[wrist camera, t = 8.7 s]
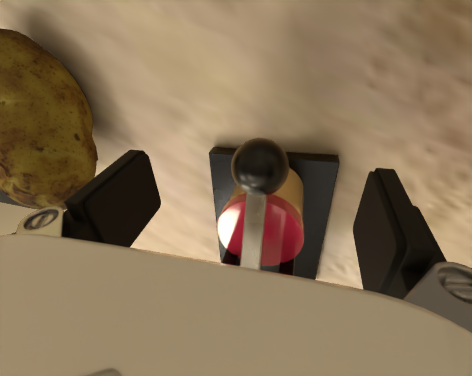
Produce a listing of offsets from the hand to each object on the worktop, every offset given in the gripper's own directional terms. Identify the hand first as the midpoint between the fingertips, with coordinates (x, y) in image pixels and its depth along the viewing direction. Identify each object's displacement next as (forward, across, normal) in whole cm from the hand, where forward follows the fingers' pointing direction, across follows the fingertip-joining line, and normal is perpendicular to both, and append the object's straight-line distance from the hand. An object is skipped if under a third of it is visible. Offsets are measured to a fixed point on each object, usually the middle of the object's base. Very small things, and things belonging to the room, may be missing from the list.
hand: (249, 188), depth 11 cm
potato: (+10, +18, 0) cm, 21 cm away
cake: (+8, 0, +6) cm, 10 cm away
